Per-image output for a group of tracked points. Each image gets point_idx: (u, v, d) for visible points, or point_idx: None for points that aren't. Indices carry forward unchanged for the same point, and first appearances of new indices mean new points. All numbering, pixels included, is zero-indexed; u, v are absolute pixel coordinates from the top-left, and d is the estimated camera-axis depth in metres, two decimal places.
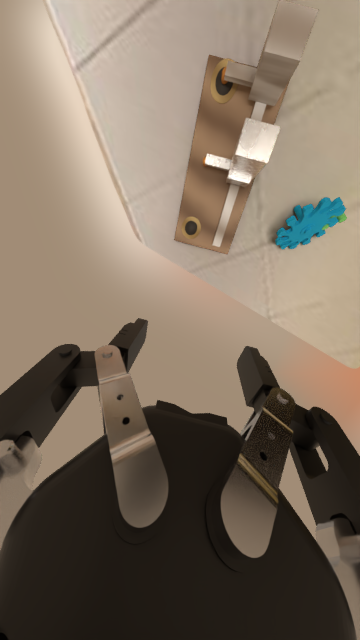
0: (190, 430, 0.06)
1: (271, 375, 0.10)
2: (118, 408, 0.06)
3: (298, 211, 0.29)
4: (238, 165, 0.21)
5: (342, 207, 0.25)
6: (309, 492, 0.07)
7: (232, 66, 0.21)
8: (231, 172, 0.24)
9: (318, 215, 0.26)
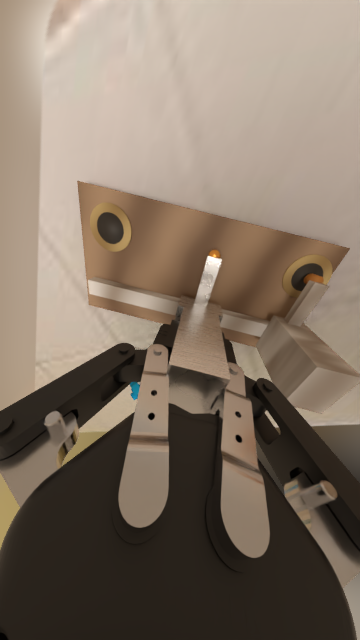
0: (190, 430, 0.06)
1: (231, 354, 0.11)
2: (149, 401, 0.06)
3: None
4: None
5: None
6: (270, 456, 0.08)
7: (319, 293, 0.13)
8: None
9: None
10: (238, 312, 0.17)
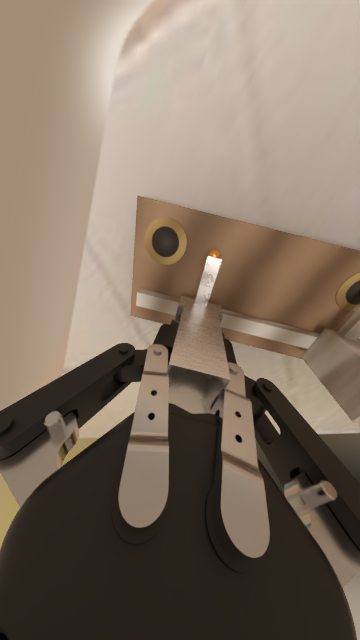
0: (190, 430, 0.06)
1: (231, 354, 0.11)
2: (149, 401, 0.06)
3: None
4: None
5: None
6: (270, 456, 0.08)
7: None
8: None
9: None
10: (284, 324, 0.17)
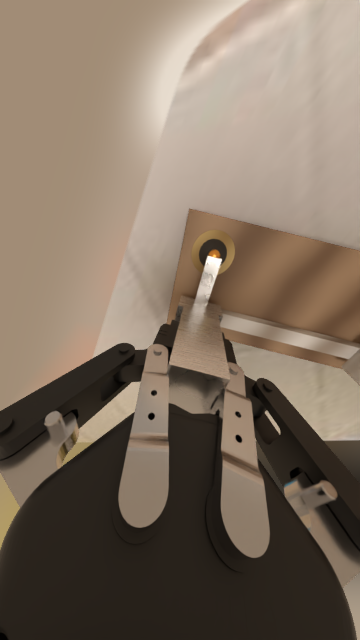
0: (190, 430, 0.06)
1: (231, 354, 0.11)
2: (149, 401, 0.06)
3: None
4: None
5: None
6: (270, 456, 0.08)
7: None
8: None
9: None
10: (325, 334, 0.17)
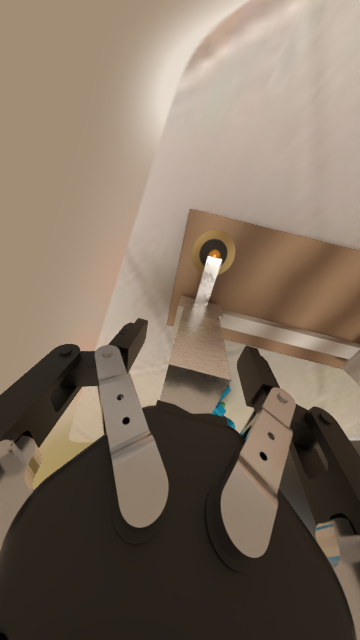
0: (190, 430, 0.06)
1: (271, 375, 0.10)
2: (118, 408, 0.06)
3: (224, 393, 0.24)
4: None
5: None
6: (309, 492, 0.07)
7: None
8: None
9: None
10: (325, 334, 0.17)
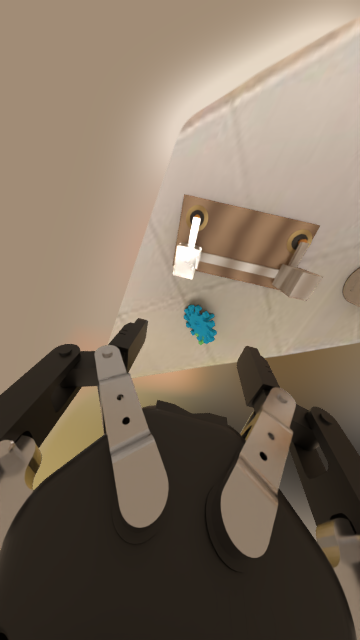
0: (190, 430, 0.06)
1: (271, 375, 0.10)
2: (118, 408, 0.06)
3: (210, 316, 0.38)
4: None
5: (208, 341, 0.37)
6: (309, 492, 0.07)
7: (305, 248, 0.27)
8: None
9: (206, 330, 0.35)
10: (261, 265, 0.31)
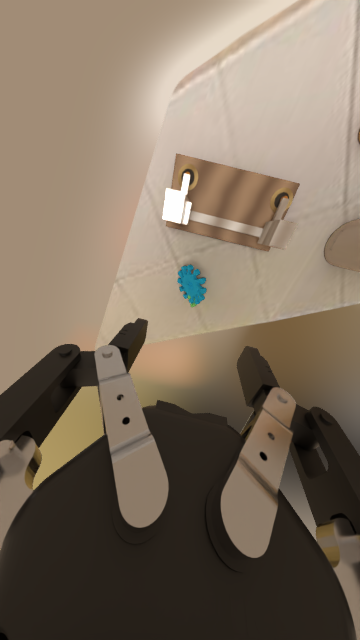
0: (190, 430, 0.06)
1: (271, 375, 0.10)
2: (118, 408, 0.06)
3: None
4: None
5: (198, 302, 0.40)
6: (309, 492, 0.07)
7: (285, 203, 0.29)
8: None
9: (196, 289, 0.37)
10: (248, 224, 0.34)
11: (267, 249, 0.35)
